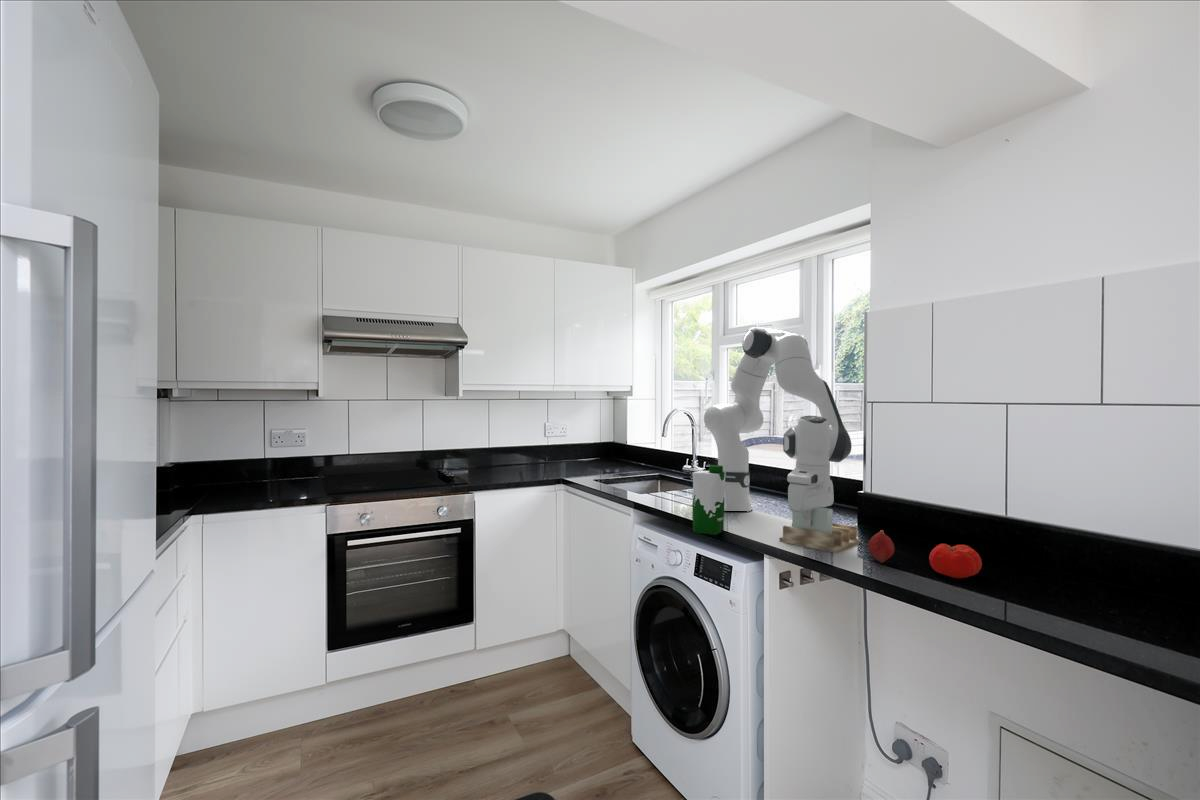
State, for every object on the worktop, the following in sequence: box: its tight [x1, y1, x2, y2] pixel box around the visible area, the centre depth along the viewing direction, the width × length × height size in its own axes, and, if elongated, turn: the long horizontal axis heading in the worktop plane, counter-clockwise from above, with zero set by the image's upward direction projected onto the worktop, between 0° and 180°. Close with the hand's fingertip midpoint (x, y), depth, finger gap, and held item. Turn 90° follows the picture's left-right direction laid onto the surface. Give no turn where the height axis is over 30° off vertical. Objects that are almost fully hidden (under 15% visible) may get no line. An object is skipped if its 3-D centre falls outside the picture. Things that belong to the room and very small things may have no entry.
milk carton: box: [692, 464, 726, 536], centre depth 164 cm, size 9×9×20 cm
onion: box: [867, 529, 895, 564], centre depth 134 cm, size 6×6×8 cm
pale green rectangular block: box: [791, 507, 834, 534], centre depth 149 cm, size 10×3×8 cm, turn 43°
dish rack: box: [778, 522, 861, 554], centre depth 153 cm, size 16×16×4 cm
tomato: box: [928, 543, 983, 579], centre depth 125 cm, size 10×11×6 cm
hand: (811, 524), depth 149 cm, fingers closed on pale green rectangular block, 3 cm apart
